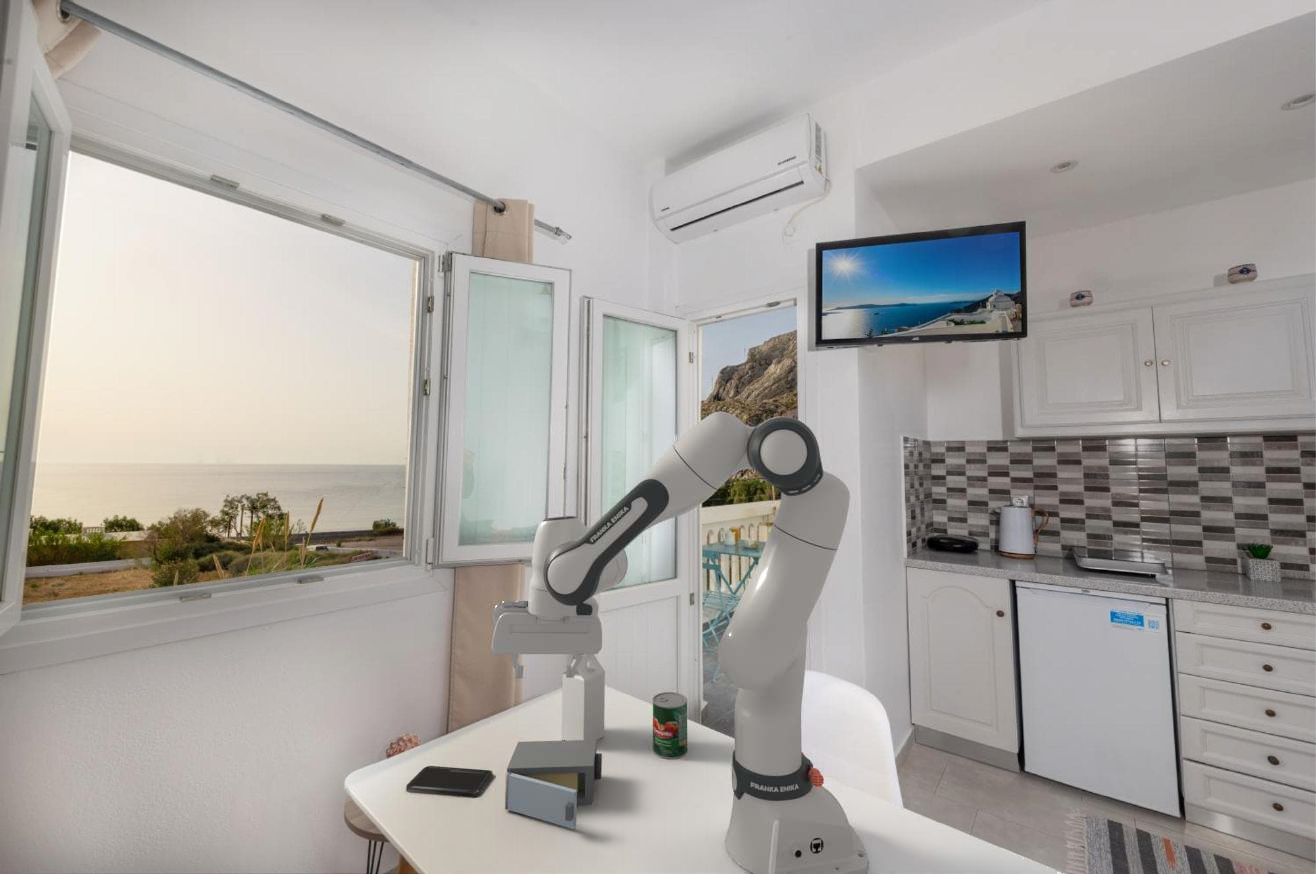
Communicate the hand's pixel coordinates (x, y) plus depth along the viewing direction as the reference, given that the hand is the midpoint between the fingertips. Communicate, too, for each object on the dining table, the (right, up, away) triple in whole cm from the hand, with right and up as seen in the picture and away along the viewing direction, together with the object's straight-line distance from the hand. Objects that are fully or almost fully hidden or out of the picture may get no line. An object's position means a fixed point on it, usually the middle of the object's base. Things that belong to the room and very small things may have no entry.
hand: (544, 676), depth 95 cm
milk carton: (+4, -26, +24) cm, 36 cm away
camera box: (+1, -24, +4) cm, 25 cm away
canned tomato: (+24, -26, +20) cm, 40 cm away
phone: (-20, -25, +7) cm, 33 cm away
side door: (0, -23, -4) cm, 24 cm away
